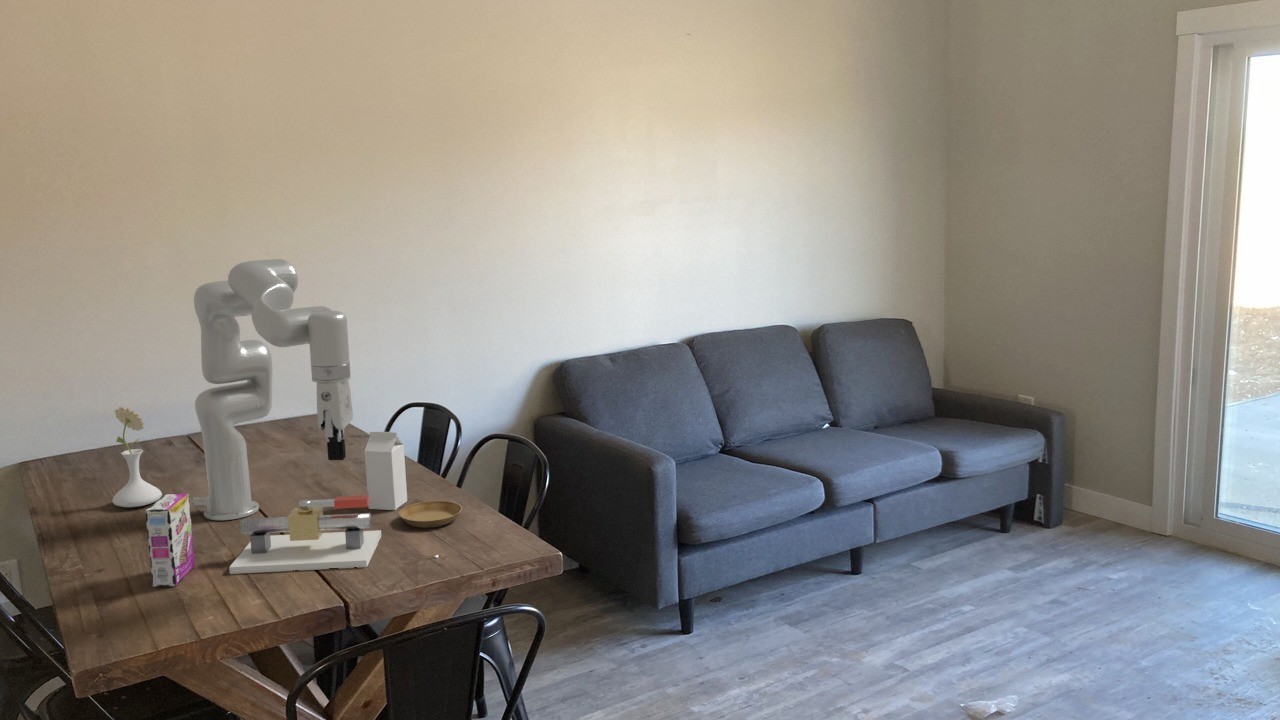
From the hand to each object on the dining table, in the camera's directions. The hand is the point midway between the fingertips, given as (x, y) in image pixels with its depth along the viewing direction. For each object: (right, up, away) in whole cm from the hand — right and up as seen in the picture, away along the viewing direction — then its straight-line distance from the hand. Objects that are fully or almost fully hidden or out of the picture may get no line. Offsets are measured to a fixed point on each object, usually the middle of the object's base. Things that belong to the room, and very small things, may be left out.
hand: (337, 458), depth 204 cm
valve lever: (-4, -11, +10) cm, 16 cm away
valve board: (-10, -22, +12) cm, 27 cm away
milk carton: (0, -16, +43) cm, 46 cm away
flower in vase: (-66, -16, +49) cm, 84 cm away
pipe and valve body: (-10, -21, +11) cm, 25 cm away
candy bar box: (-34, -25, +1) cm, 42 cm away
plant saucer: (+13, -18, +32) cm, 39 cm away
